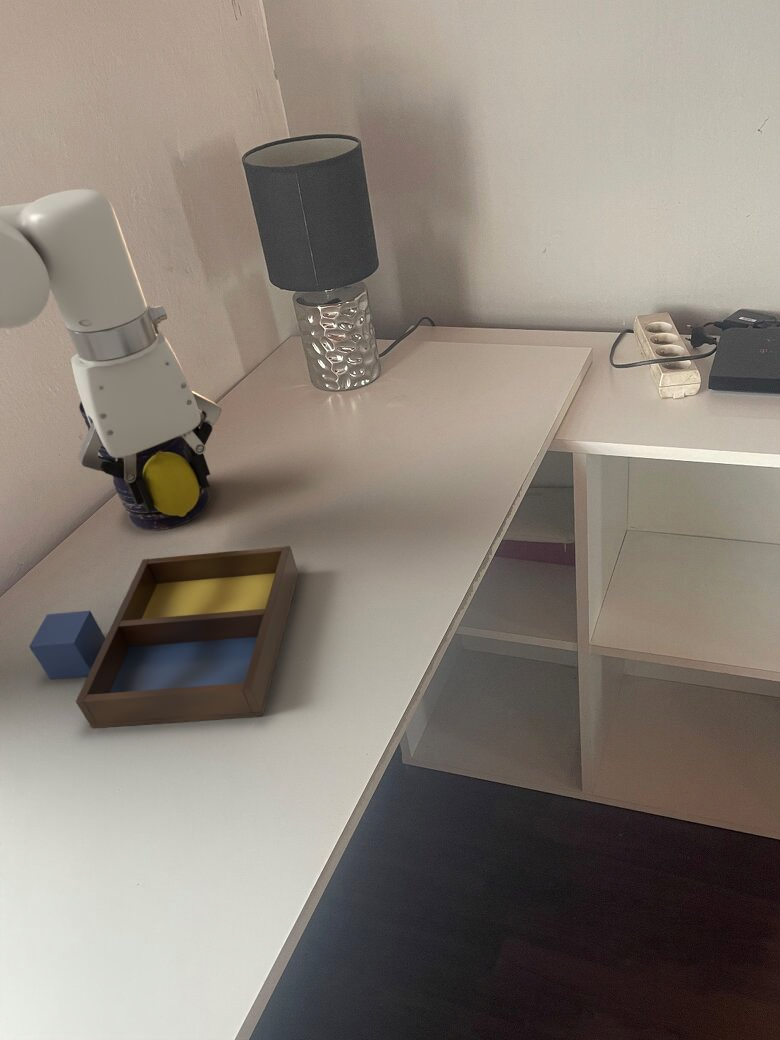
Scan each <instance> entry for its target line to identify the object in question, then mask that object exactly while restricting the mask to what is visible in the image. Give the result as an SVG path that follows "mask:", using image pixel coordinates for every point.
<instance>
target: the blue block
mask: <svg viewBox="0 0 780 1040" xmlns="http://www.w3.org/2000/svg"><path fill="white" fill-rule="evenodd" d="M36 631H37V632H36V633H35V635H34V636H33V638H32V641H31V642H30V644H29V649H30V651H31V652H32V654H33V656H34V657H35V658H36V660H37V661H38V663H39V664H40V666H41V668H42V670H43V671H44V672H45V674H46V675H47V677H48V679H49V680H57V679H59V680H60V679H72V678H83V677H88V674H89V672H90V670H91V668H92V666H93V664H94V662H95V660H96V657H97V655H98V653H99V651H100V649H101V647H102V645H103V643H104V640H105V638H106V636H105V634H104V633H103V631H102V629H101V627H100V625H99V624H98V622H97V620H96V618H95V617H94V615H93V613H92V611H91V610H83V611H71V612H60V613H59V612H58V613H48V614H46V615H45V617H44V618H43V621H42V623H41V624H40V626H39V628H38V630H36Z"/></svg>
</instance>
